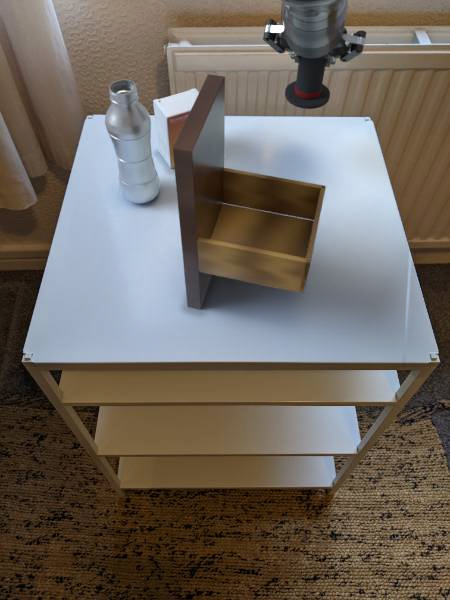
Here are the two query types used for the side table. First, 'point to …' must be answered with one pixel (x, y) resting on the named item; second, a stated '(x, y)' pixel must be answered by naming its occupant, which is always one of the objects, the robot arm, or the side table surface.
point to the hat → (308, 84)
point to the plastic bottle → (132, 142)
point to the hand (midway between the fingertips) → (313, 57)
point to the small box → (172, 120)
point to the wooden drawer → (237, 210)
